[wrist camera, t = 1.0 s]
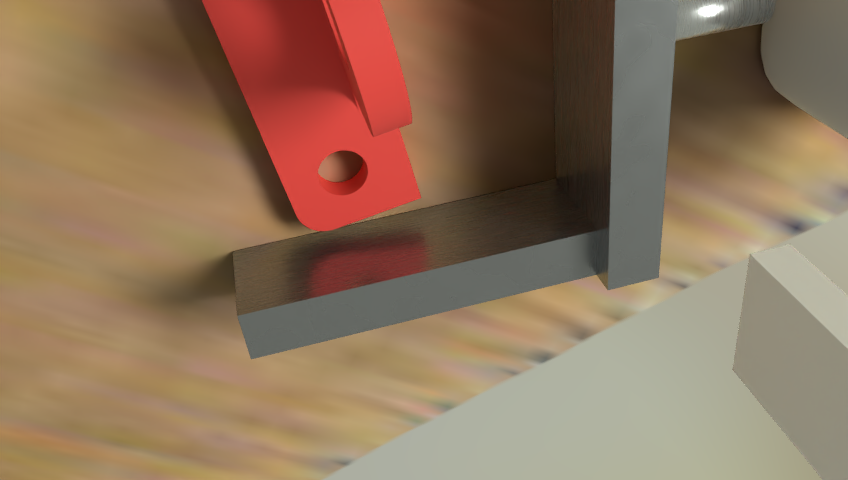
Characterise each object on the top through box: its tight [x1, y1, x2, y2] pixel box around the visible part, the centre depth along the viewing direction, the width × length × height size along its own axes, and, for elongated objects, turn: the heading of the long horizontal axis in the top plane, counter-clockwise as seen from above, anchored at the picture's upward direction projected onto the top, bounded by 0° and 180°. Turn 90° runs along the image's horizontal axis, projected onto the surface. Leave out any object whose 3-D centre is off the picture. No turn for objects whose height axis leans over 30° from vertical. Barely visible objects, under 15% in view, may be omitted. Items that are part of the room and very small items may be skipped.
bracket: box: [202, 0, 421, 231], centre depth 24 cm, size 12×4×8 cm, turn 15°
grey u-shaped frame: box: [233, 0, 776, 359], centre depth 25 cm, size 20×18×5 cm
